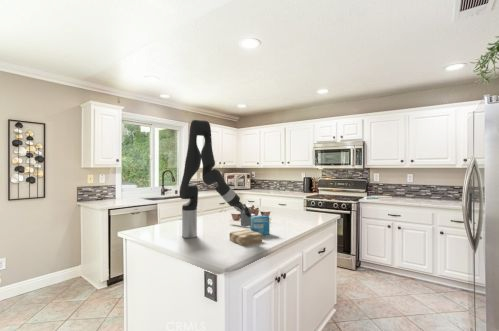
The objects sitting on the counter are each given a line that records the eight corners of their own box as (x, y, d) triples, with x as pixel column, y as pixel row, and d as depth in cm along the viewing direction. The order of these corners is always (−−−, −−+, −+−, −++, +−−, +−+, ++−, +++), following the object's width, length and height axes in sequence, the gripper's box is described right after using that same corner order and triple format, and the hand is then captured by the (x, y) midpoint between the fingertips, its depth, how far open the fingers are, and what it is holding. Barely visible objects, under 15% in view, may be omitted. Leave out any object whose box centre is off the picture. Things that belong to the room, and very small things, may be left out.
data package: (252, 236, 172) (252, 217, 172) (250, 234, 176) (250, 216, 176) (269, 234, 176) (269, 216, 176) (267, 232, 180) (267, 215, 180)
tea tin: (240, 225, 161) (240, 208, 161) (247, 224, 163) (247, 208, 164) (244, 226, 157) (244, 209, 157) (251, 225, 160) (251, 209, 160)
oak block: (229, 240, 162) (229, 232, 162) (248, 237, 170) (248, 229, 170) (242, 246, 151) (242, 237, 151) (262, 242, 159) (262, 234, 159)
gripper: (240, 192, 150) (258, 212, 157) (228, 190, 162) (245, 209, 169) (232, 202, 147) (250, 222, 154) (220, 200, 159) (238, 218, 166)
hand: (247, 215), depth 161 cm, fingers closed on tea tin, 4 cm apart
